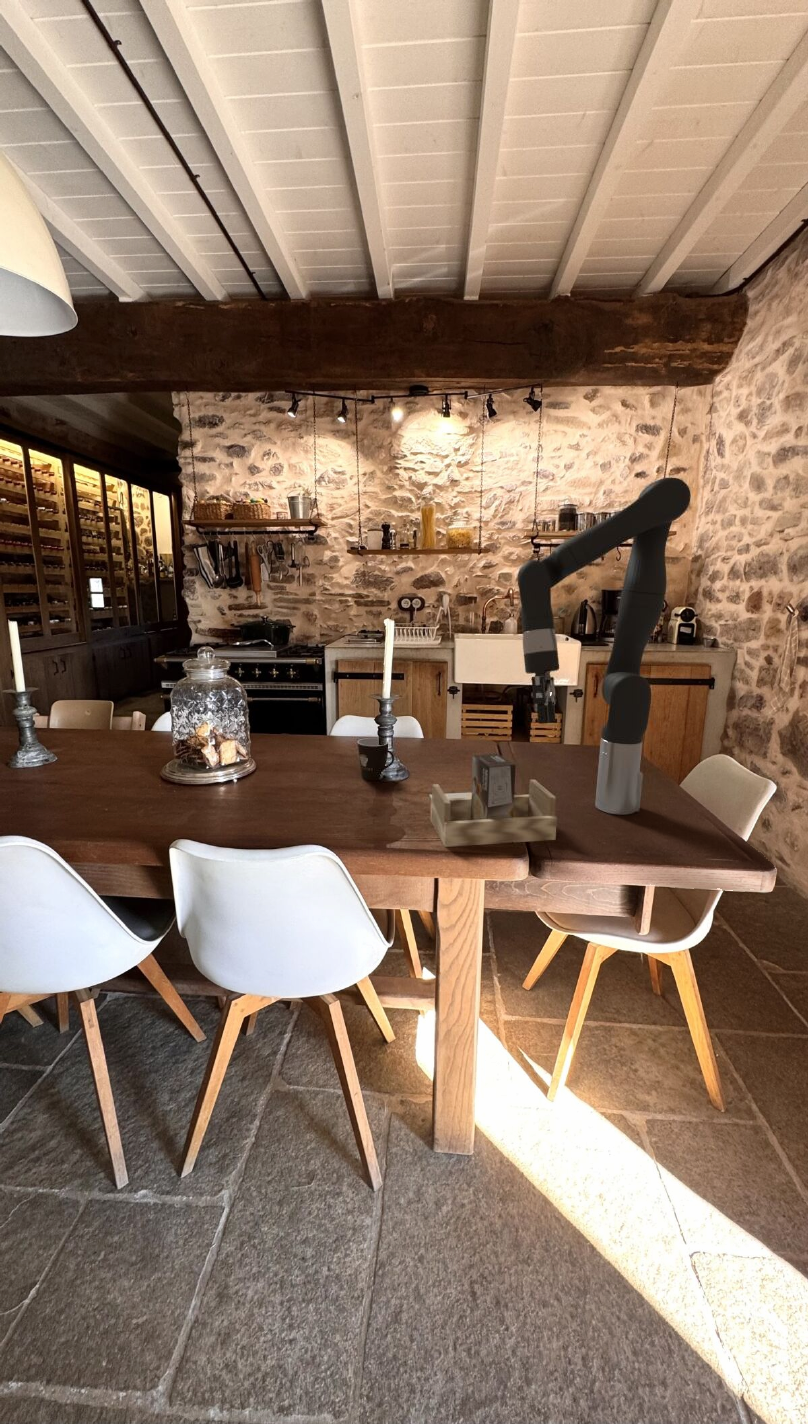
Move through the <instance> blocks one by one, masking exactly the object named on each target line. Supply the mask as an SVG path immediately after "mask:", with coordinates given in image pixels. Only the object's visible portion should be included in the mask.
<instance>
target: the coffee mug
mask: <svg viewBox="0 0 808 1424" xmlns="http://www.w3.org/2000/svg"><path fill="white" fill-rule="evenodd" d="M379 738H380V737H366V738H360V739H358V740H357V748H358V749H357V750H358V756H359V764H360V765H359V766H360V774H361V778H362V779H364V780H368V781H378V780H379V778H380V774H381V772H382V771H383V770H384V769H385V770H386V769H388V768H389V767H391V766H392V765H393V764H394V761H395V755H394V753H393V752H392V751H391V750H389V745H390V744H389V743H390V741H389V740H388V742H387V744H384V745H379ZM388 754H390V756H391V761H390V762H389V764H387V760H388ZM385 764H386V766H385ZM379 781H380V780H379Z"/></svg>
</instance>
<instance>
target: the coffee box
mask: <svg viewBox="0 0 808 1424" xmlns="http://www.w3.org/2000/svg"><path fill="white" fill-rule="evenodd" d="M516 768H517V764H516V763H513V762H512V761H510V760H509V759H508V758H505V757H504V756H502V755H500V754H499V753H487V754H486V753H484V754H480V755H479V754H478V755H477V754H476V755H473V756H472V769H471V770H472V773H471V774H472V775H471V792H472V800H471V820H483V819H501V818H513V809H514V795H515V787H516V784H515V783H516Z"/></svg>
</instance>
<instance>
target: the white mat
mask: <svg viewBox="0 0 808 1424" xmlns="http://www.w3.org/2000/svg"><path fill="white" fill-rule="evenodd" d="M444 794H445V796H446V797H447V798H448V799H449V798H469V797H472V791H471V792H456V793H455V792H454V793H453V792H452V793H444ZM429 798H430V800H431V799H432V794H431V793H430V794H429Z"/></svg>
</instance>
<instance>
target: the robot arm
mask: <svg viewBox="0 0 808 1424" xmlns="http://www.w3.org/2000/svg"><path fill="white" fill-rule="evenodd" d="M691 496H692V495H691V489H690V487H689V486H688V484H687V483H686V482H685V481H684V480H683V479H680V478H678V477H664V478H660V479H657V480H655V481H654V482H652V483H651V484H649V485H647V486H646V487H644V489H643V490H642V491H641V492H640V493H639V496H638V497H637V499H635V501H633V502H632V503H630V504H629V505H627V506H626V507H625V508H623V509H622V510H620V511H618V512H617V513H615V514H613V515H611V516H610V517H607V518H606V519H604V520H602V521H600V522H598V523H596V524H594V525H592V526H590V527H588V528H586V529H584V530H583V531H581V532H580V533H577V534H575V535H574V536H572V537H570V539H568V540H566V541H564V542H563V543H561V544H559V545H558V546H556V547H555V548H554V549H553V550H552V552H550V554H549V555H547V556H545V557H544V558H543V559H541V560H537V559H533V560H532V559H531V560H528V561H526V562H524V563H523V564H522V565H521V566H520V568H519V569H518V572H517V586H518V589H519V598H520V605H521V617H520V618H521V627H522V650H523V660H524V668H525V671H524V672H525V673H526V674H529V675H530V674H531V675H532V674H534V676H531V679H530V680H531V688H532V689H531V690H532V702H533V704H534V705H535V707H536V710H537V711H536V712H537V722H538V723H539V724H541V725H542V724H548V723H550V722H553V723H554V722H556V719H557V718H556V710H555V709H556V707H555V705H556V702H557V697H556V688H555V678H554V676H551V672H557V671H559V669H560V661H559V660H560V659H559V652H558V640H557V635H556V630H555V621H554V613H553V609H552V591H551V589H552V588H554V586H556V585H558V584H559V583H561V582H562V581H563V580H565V579H566V578H567V577H569V576H570V575H573V574H574V573H576V572H578V571H580V570H582V569H583V568H585V567H587V566H588V565H590V564H592V563H594V562H595V561H597V560H598V559H600V558H602V557H603V556H604V555H606V554H608V553H609V552H611V551H613V550H614V549H616V548H618V547H619V546H620V545H622V544H624V543H625V542H627V541H629V540H630V539H632V538H633V539H632V545H631V549H630V554H629V558H628V561H627V566H626V570H625V575H624V580H623V585H622V588H621V593H620V600H619V606H618V612H617V619H616V624H615V627H614V628H615V629H614V636H613V643H612V649H611V652H610V656H609V659H608V662H607V667H606V669H605V673H604V676H603V678H602V683H601V688H600V689H601V690H600V691H601V696H602V698H603V700H604V702H605V703H606V704H607V705H609V708H608V714H607V716H608V717H607V722H606V724H604V725H603V726H602V727H601V732H600V733H601V735H600V736H601V737H600V747H599V757H598V769H597V780H596V781H597V782H596V790H595V791H596V793H595V803H594V805H595V808H597V809H598V810H600V811H602V812H605V813H607V814H612V815H622V816H623V815H630V814H633V813H636V812H640V806H641V797H642V796H641V795H642V787H643V786H642V785H643V777H644V775H643V774H644V773H643V772H642V771H640V769H641V767H640V766H641V761H642V760H641V757H642V751H643V750H642V749H643V741H644V740H643V739H644V735H645V733H646V731H647V728H648V725H649V717H650V713H651V712H650V711H651V704H652V689H651V685H650V683H649V681H648V680H647V679H646V678H645V677H643V676H641V675H640V674H641V666H642V659H643V655H644V651H645V649H646V646H647V644H648V642H649V640H650V639H651V637H652V636H653V633H654V631H655V629H656V627H658V626H657V625H658V624H659V621H660V619H661V616H662V613H663V607H664V604H665V603H664V602H665V598H666V592H667V582H668V581H667V580H668V579H667V566H666V546H667V543H668V542H667V541H668V537H669V534H670V530H671V526H672V523H673V522H674V521H676V520H677V519H679V518H680V517H681V516H683V515H684V513H685V512H686V511H687V509H689V508H688V507H689V505H690V503H691V498H692V497H691Z"/></svg>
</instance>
